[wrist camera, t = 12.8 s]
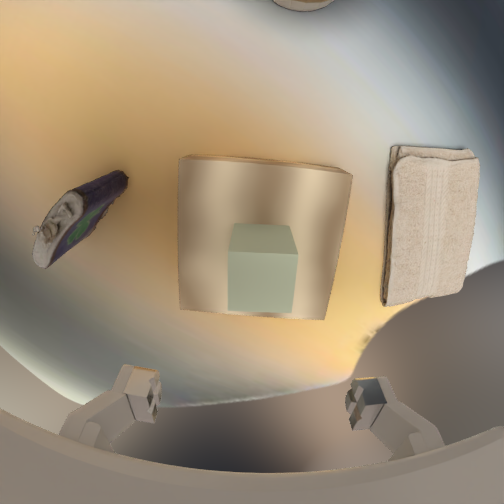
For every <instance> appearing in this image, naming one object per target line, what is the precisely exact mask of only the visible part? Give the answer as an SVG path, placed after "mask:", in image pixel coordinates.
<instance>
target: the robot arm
mask: <svg viewBox="0 0 504 504" xmlns="http://www.w3.org/2000/svg"><path fill="white" fill-rule="evenodd" d="M159 377H160V375H159V371H158V370H153V369H148V368H142V367H137V366H131V365H126V364H124V365H123V366H122V368H121V370H120V372H119V374H118V376H117V379H116V381H115V383H114V385H113V387H112V389H111V391H109V390H107V391H106V392H104V393H103V394H101V395H99V396H98V397H96V398H94V399H93V400H91V401H90V402H88V403H86V404H85V405H83V406H81V407H80V408H78V409H76V410H75V411H73V412H71V413H70V414H69V415H68V417H67V419H66V421H65V423H64V425H63V427H62V429H61V431H60V433H59V435H57V434H55V433H52V432H50V431H47V430H45V429H42V428H40V427H38V426H35V425H33V424H31V423H29V422H27V421H25V420H22V419H20V418H18V417H16V416H14V415H12V414H10V413H8V412H6V411H4V410H2V409H0V504H504V427H503V426H497V427H495V428H493V429H490V430H488V431H485V432H483V433H480V434H478V435H475V436H473V437H470V438H467V439H465V440H462V441H459V442H456V443H454V444H451V445H447V446H445V444H444V442H443V440H442V438H441V436H440V433H439V431H438V429H437V427H436V426H435V425H433V424H432V423H430V422H429V421H427V420H426V419H425V418H423V417H421V416H420V415H419V414H417V413H416V412H415V411H413V410H412V409H410V408H409V407H407V406H406V405H404V404H403V403H402V402H398V401H397V398H396V396H395V394H394V392H393V389H392V387H391V385H390V383H389V380H388V378H387V377H386V376H382V377H370V378H358V379H354V380H353V381H352V383H351V387H352V389H350V390H349V391H348V392H347V395H346V401H345V403H346V410H347V412H349V413H350V414H351V416H350V418H349V421H350V424H351V428H352V430H363V429H370V431H371V432H373V434H374V435H375V436H376V437H377V438H378V439H379V440H380V441H382V443H383V444H385V446H386V447H387V448H388V449H389V450H391V452H392V453H393V455H392V457H391V458H390V459H389V460H388V461H387V462H382V463H377V464H371V465H365V466H359V467H352V468H344V469H336V470H327V471H315V472H299V473H238V472H222V471H210V470H201V469H193V468H185V467H178V466H172V465H166V464H161V463H155V462H150V461H145V460H141V459H136V458H131V457H128V456H124V455H119V454H116V453H115V452H114V450H113V448H112V447H111V445H110V443H111V442H112V441H113V440H115V439H116V438H117V437H118V436H119V435H120V434H122V433H123V432H124V431H125V430H126V429H127V428H128V427H130V426H131V425H132V424H133V423H134V422H135V420H136V421H142V422H148V423H155V419H156V416H157V412H158V411H157V407H156V406H157V405H159V404H160V402H161V397H162V385H161V383H160V382H159Z"/></svg>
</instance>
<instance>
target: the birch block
mask: <svg viewBox="0 0 504 504" xmlns="http://www.w3.org/2000/svg"><path fill="white" fill-rule="evenodd" d="M352 177H353V175H352V174H350V173H348V172H346V171H344V170H342V169H340V168H335V167H328V166H321V165H313V164H305V163H296V162H287V161H278V160H267V159H256V158H243V157H228V156H210V155H189V156H186V157H184V158H181V159H179V175H178V273H179V300H180V309H183V310H192V311H201V312H211V313H222V314H233V315H246V316H259V317H274V318H291V319H311V320H324V319H325V315H326V311H327V307H328V302H329V298H330V294H331V290H332V285H333V281H334V276H335V271H336V267H337V262H338V257H339V252H340V247H341V242H342V237H343V231H344V226H345V220H346V215H347V209H348V203H349V197H350V190H351V184H352ZM234 223H242V224H265V225H286V226H289V227H290V230H291V233H292V236H293V239H294V242H295V245H296V248H297V251H298V254H299V255H298V264H297V273H296V281H295V290H294V298H293V306H292V313H270V312H245V311H228V249H229V244H230V240H231V236H232V231H233V227H234Z"/></svg>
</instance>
